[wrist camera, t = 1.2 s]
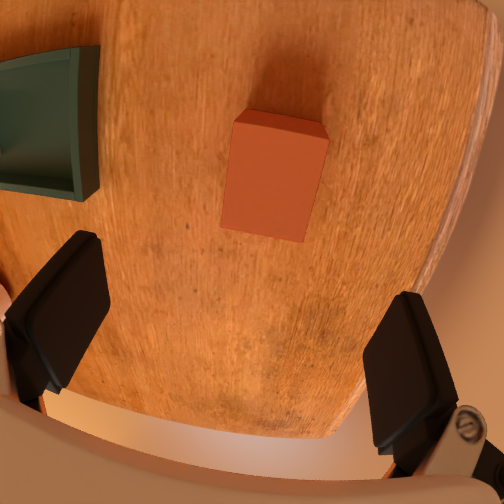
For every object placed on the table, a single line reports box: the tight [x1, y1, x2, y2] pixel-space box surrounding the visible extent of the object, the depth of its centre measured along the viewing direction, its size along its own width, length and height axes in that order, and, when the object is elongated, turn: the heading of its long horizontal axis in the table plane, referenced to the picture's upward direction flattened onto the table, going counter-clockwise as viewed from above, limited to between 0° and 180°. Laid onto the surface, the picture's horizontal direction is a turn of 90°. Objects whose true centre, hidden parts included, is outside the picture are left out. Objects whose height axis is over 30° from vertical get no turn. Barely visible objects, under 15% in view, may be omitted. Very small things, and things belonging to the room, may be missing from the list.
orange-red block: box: [220, 109, 330, 243], centre depth 19 cm, size 5×6×4 cm
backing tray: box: [0, 45, 100, 202], centre depth 19 cm, size 20×12×3 cm, turn 81°
